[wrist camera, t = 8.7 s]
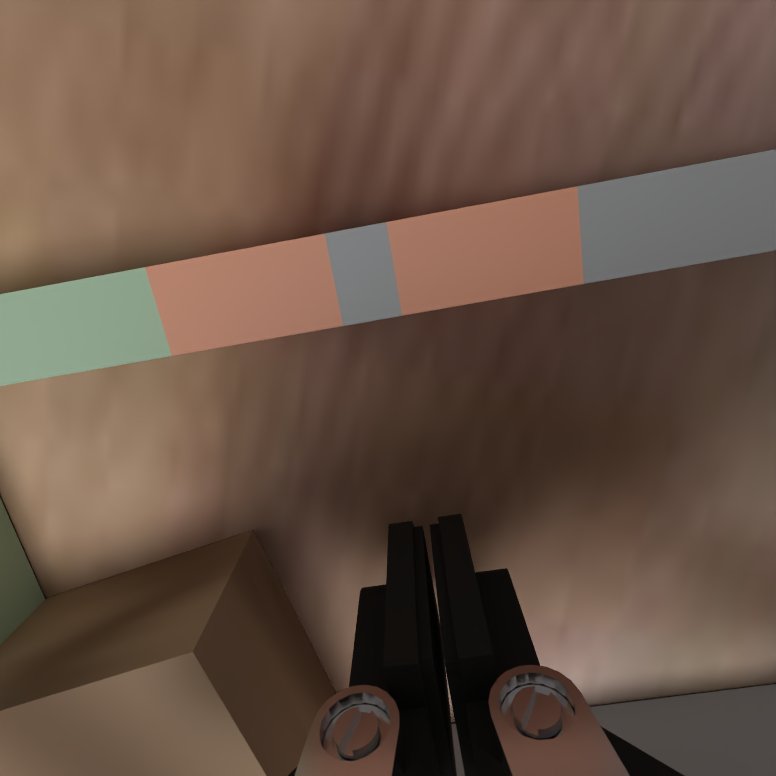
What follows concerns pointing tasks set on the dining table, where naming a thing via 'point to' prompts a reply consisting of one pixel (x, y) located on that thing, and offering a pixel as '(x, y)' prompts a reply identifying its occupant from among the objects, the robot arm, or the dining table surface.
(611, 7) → the dining table surface
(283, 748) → the walnut block
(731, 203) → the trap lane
